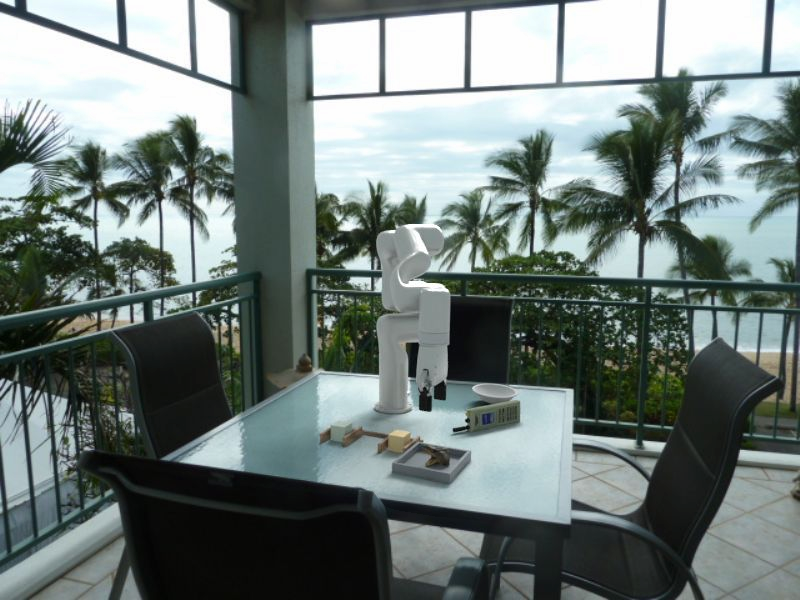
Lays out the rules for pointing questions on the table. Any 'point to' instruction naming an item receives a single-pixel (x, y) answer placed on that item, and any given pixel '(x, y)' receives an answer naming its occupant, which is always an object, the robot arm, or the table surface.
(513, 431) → the table surface
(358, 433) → the rack
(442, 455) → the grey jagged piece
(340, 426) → the sage block
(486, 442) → the table surface
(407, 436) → the ochre block
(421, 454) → the tray
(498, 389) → the dish
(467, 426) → the handheld radio
